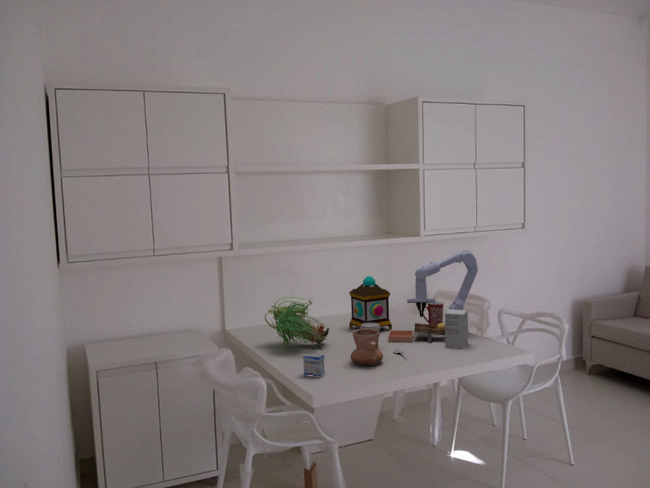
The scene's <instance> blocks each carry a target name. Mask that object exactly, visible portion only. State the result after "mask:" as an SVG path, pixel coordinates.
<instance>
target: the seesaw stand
mask: <svg viewBox="0 0 650 488" xmlns="http://www.w3.org/2000/svg"><path fill="white" fill-rule="evenodd" d="M432 335H433V334H431V333H427V336H426V337H427V338H426V339H427V343H431V344H432V343H433V342H432Z"/></svg>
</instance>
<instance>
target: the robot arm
mask: <svg viewBox="0 0 650 488" xmlns="http://www.w3.org/2000/svg"><path fill="white" fill-rule="evenodd" d="M455 263H458V264H462V263H463V264H464V266H465V267H466V269H467V271H466V274H465V276H464V279H463V281H462V283H461V285H460V288H459V291H458V293H457V295H456V297H455V299H454V300H453V303H451V304H450V306H449V308H448V310H449V309H453V310H464V309H465V303H466V301H467V298H468V296H469V294H470V291H471V289H472V286H473V284H474V282H475V279H476V276H477V274H478V272H479V268H478V263H477V258H476V257H475V255H474V254H473V253H472V252H471V251H470V250H463V251H461V252H457V253H455V254H452V255H451V256H449V257H447V258H445V259H443V260H441V261H438V262H437V261H430V263H429V264H426V265H422V266H421V267H418V268H417V269H416V270H415V271H414V272H415V273H414V275H415V284H414V286H415V298H407V299H406V302H407V303H406V304H415V306H416V308H417V310H418V313H419V317H420V318H424V317H423V313H424V312H425V307H426V306H427V303H435V301H436V299H435V298H427V295H428V294H427V288H428V287H427V277H431V276H433V275H435V274H438V273H439V272H441V269H442V268H445V267H447V266H450V265H452V264H455ZM421 310H422V312H421Z"/></svg>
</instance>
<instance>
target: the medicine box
mask: <svg viewBox="0 0 650 488" xmlns="http://www.w3.org/2000/svg"><path fill="white" fill-rule="evenodd" d="M302 357H303V358H302V359H303V376H304V375H313V376H322V375H323V374H324V375H325V374H326V373H325V371H326V370H325V354H318V353H317V354H316V353H315V354H314V353H305V354H304V355H303V356H302ZM324 375H323V376H324ZM323 376H322V377H323Z"/></svg>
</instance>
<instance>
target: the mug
mask: <svg viewBox="0 0 650 488" xmlns="http://www.w3.org/2000/svg"><path fill="white" fill-rule="evenodd" d="M444 304H445V303H444V302H443V301H437V300H435V303H426V307H425V308H426V310H427V313H428V316H427V317H428V318H427V317H426V316H425V314H424V312H423V317H422V318H423V319H424V320H425V321H426V322H427V324H429V325H438V324H440V323H443V320H444ZM421 313H422V309H421ZM443 324H444V323H443Z"/></svg>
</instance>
